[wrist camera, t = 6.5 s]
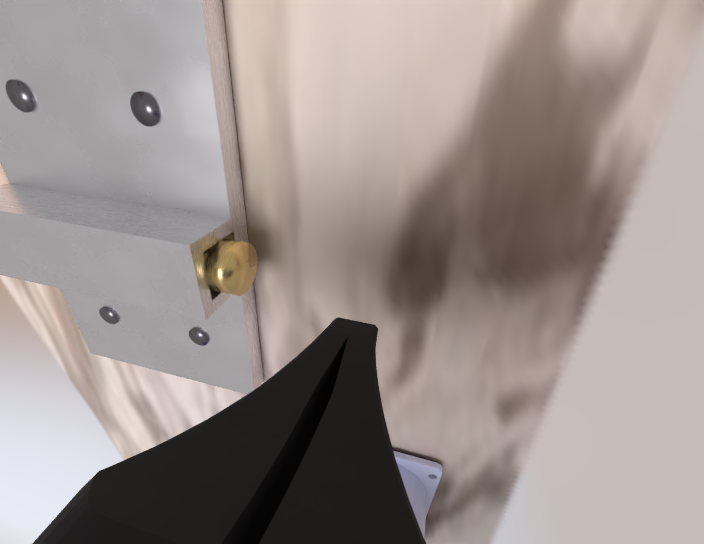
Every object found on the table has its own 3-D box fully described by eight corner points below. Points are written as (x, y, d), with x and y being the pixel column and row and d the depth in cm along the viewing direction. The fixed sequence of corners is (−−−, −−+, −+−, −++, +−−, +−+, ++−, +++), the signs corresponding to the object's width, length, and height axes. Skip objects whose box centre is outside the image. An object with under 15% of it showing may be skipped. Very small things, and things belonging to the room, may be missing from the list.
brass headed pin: (255, 234, 14) (225, 257, 12) (259, 278, 16) (233, 306, 14) (19, 194, 17) (-38, 208, 15) (38, 235, 18) (-11, 254, 16)
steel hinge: (219, -19, 11) (124, -61, 8) (263, 381, 21) (230, 436, 18) (-52, -25, 13) (-218, -61, 10) (106, 341, 23) (50, 384, 20)
